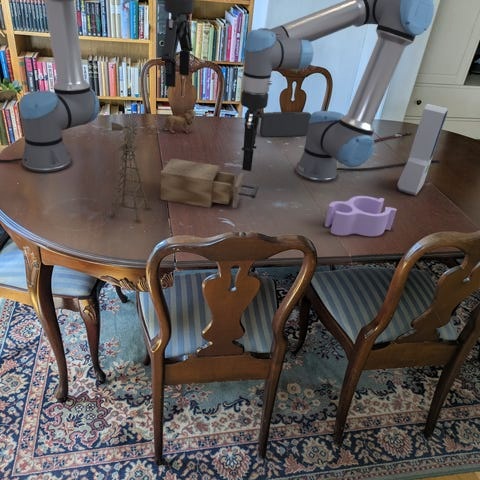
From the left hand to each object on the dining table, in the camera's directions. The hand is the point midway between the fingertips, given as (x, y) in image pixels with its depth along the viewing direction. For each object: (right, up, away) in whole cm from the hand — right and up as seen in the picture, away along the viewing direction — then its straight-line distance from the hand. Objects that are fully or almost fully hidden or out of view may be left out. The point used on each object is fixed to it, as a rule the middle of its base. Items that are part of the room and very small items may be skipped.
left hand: (177, 80), depth 131 cm
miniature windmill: (-15, -37, +7) cm, 40 cm away
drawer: (+13, -32, +17) cm, 38 cm away
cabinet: (+2, -31, +19) cm, 36 cm away
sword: (+87, +1, +83) cm, 120 cm away
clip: (+53, -41, +12) cm, 68 cm away
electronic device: (+80, -26, +39) cm, 93 cm away
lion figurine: (-8, +1, +66) cm, 67 cm away
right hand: (+20, -23, +11) cm, 32 cm away
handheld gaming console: (+37, +1, +74) cm, 83 cm away
